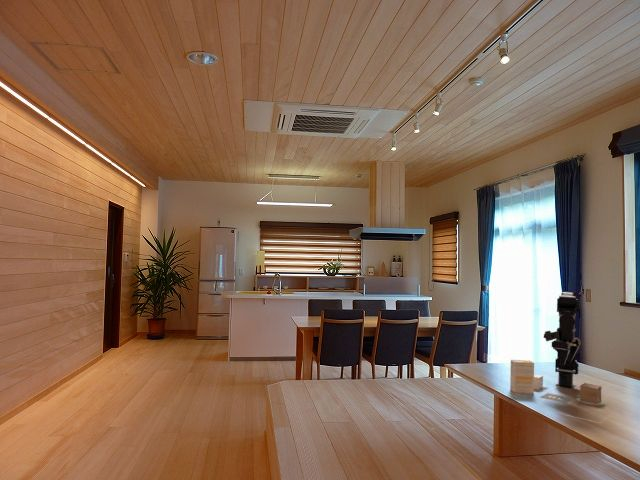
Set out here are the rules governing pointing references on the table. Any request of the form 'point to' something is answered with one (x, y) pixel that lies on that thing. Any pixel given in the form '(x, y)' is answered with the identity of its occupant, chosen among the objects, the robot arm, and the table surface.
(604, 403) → the pale green disc
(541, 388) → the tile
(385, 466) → the table surface
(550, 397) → the tile
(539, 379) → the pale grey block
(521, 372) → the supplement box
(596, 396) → the walnut block
